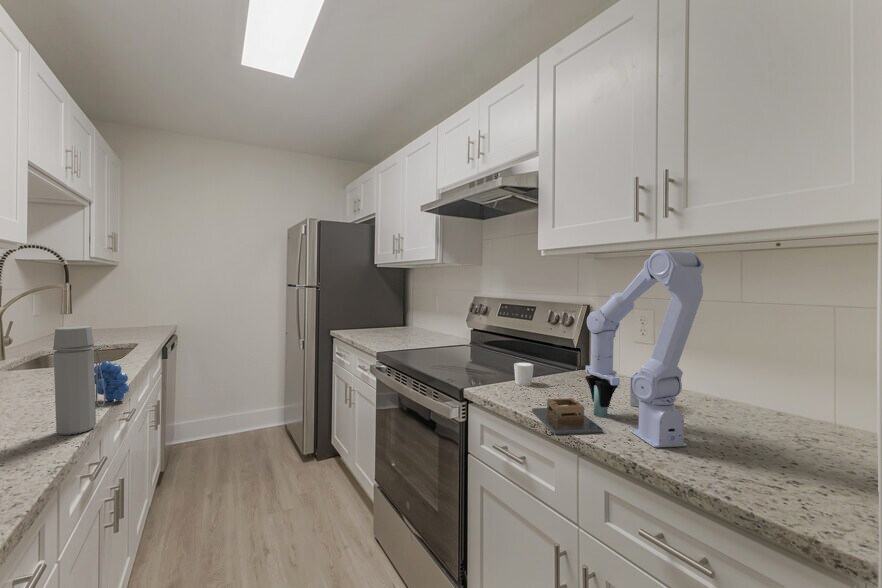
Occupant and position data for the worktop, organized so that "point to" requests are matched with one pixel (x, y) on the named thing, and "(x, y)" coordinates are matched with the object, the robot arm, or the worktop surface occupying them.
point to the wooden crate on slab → (566, 417)
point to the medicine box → (633, 394)
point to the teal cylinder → (598, 405)
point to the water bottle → (75, 379)
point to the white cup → (523, 373)
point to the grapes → (111, 381)
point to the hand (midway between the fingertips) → (600, 404)
